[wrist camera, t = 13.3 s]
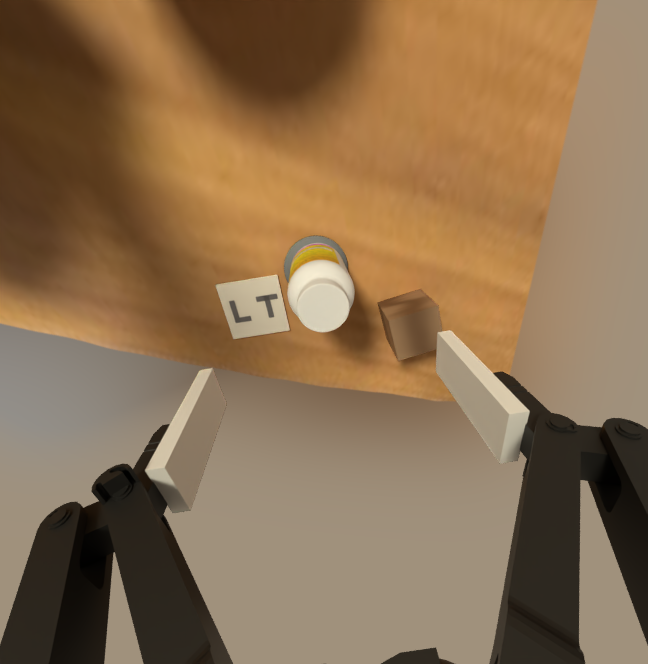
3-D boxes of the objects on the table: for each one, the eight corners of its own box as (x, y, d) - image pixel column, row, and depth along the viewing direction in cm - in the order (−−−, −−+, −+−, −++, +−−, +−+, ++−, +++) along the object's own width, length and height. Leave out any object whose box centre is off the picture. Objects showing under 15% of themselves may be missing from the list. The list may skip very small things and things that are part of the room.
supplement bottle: (279, 264, 36) (268, 302, 25) (322, 230, 35) (330, 254, 23) (313, 303, 39) (316, 354, 28) (353, 273, 38) (375, 314, 26)
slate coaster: (291, 302, 39) (291, 303, 39) (278, 241, 36) (278, 242, 35) (350, 292, 39) (350, 293, 39) (343, 230, 35) (343, 231, 35)
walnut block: (386, 338, 43) (398, 361, 38) (377, 302, 40) (388, 321, 35) (426, 326, 42) (444, 347, 37) (420, 288, 40) (438, 305, 34)
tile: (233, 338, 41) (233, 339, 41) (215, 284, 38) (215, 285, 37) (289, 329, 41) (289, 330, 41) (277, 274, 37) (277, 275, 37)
